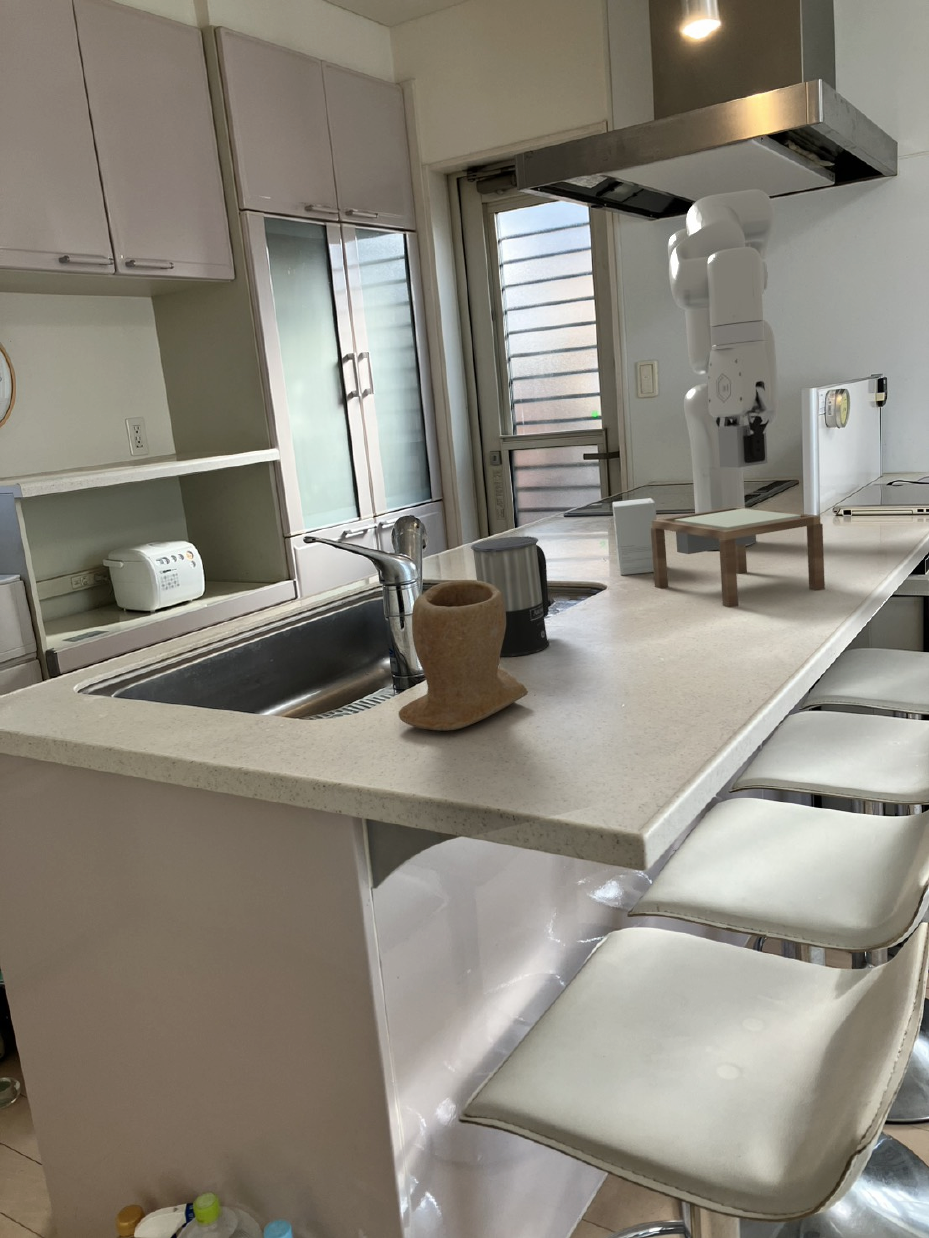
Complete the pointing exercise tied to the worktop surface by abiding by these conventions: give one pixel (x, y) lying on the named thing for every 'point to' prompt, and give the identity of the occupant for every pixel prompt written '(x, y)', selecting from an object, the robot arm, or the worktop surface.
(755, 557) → the worktop surface
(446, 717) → the stone cup
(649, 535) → the supplement box
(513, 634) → the milk frother
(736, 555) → the frame
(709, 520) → the trapdoor
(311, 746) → the worktop surface
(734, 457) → the grey near-cubic block
